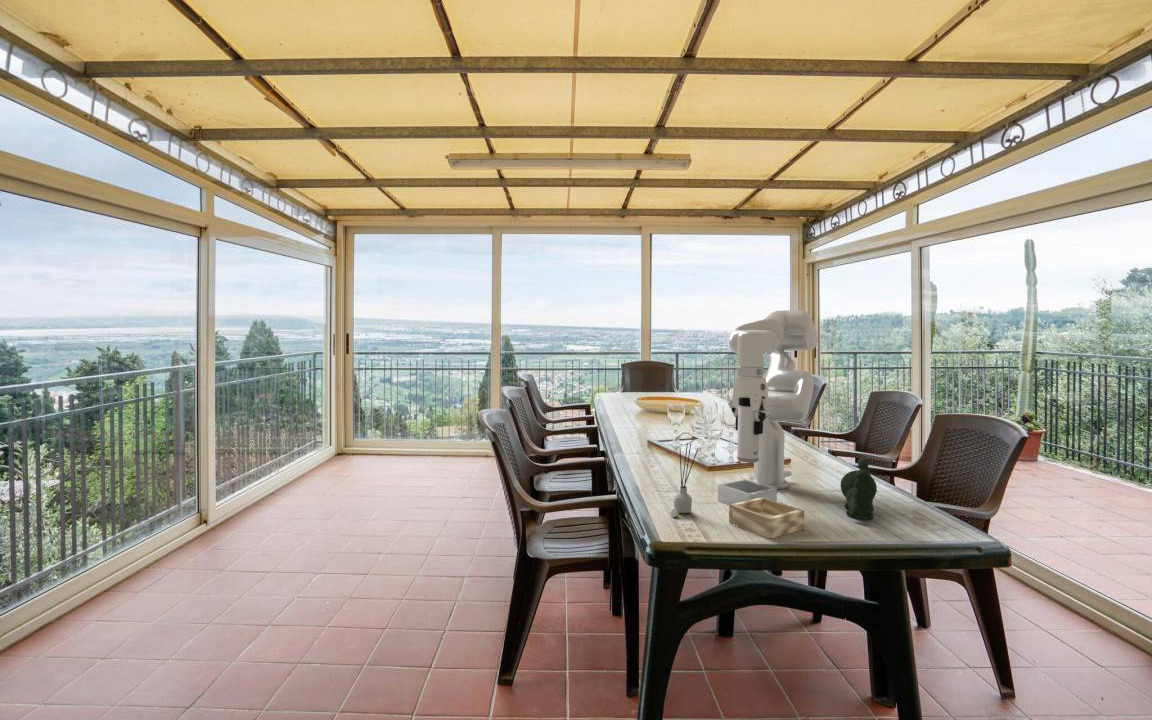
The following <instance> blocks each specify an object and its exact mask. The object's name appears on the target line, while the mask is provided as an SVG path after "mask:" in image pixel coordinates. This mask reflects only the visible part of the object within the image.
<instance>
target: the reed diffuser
mask: <svg viewBox="0 0 1152 720" xmlns="http://www.w3.org/2000/svg"><path fill="white" fill-rule="evenodd" d="M688 444H689V450H688ZM691 447H692V442H690V443H689V442H686V449H685V456H684V464H683V472H682V454H681V449H682V448H681V447H679V464H680V467H679V468H680V484H681V486H679V493H677V494H676V495H675V498H674V502H673V503H674V504H673V505H674V509H671V511H670V516H671V517H672V518H677V517H678V518H679V517H680V513H682V514H687V513H691V512H692V507H693V505H692V503H693V499H692V496H691V495H690V494H689V493H688V487H687V486H686V484H687V481H688V478H689V476H690V473H691V471H692V467H693V465H694V463H695V459H696V457H697V453H698V452H699V447H698V448H697V449H696V451H695V454H694V457H693V460H692V462H691V465H690V467H689V461H690V454H691ZM687 454H688V456H687ZM687 457H688V458H687ZM686 460H687V464H686ZM688 468H689V471H688ZM685 469H686V470H685ZM684 477H685V478H684Z"/></svg>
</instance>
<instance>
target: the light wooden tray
mask: <svg viewBox="0 0 1152 720" xmlns="http://www.w3.org/2000/svg"><path fill="white" fill-rule="evenodd" d="M729 522H730V523H729ZM728 523H729V524H731V523H732V524H731V525H733V524H735V525H734V526H736V525H737V527H738V526H739V528H741V527H742V528H741V529H743V528H744V530H746V529H747V531H748V530H749V531H748V532H751V531H752V532H751V533H753V532H754V534H756V533H757V534H756V535H758V534H759V536H761V535H762V536H761V537H763V536H764V537H763V538H766V537H767V538H766V539H768V538H769V540H771V539H770V538H772V539H774V538H773V537H775V538H778V537H777V536H779V537H782V536H785V535H784V534H786V535H788V533H789V534H792V533H795V531H796V532H799V531H802V529H803V530H804V529H805V510H804V509H801V508H799V507H796V506H793V505H788V504H786V503H784V502H779V501H774V500H771V499H768V498H765V497H760V498H756V499H751V500H747V501H743V502H738V503H734V504H730V505H729V506H728ZM781 535H782V536H781Z"/></svg>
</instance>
